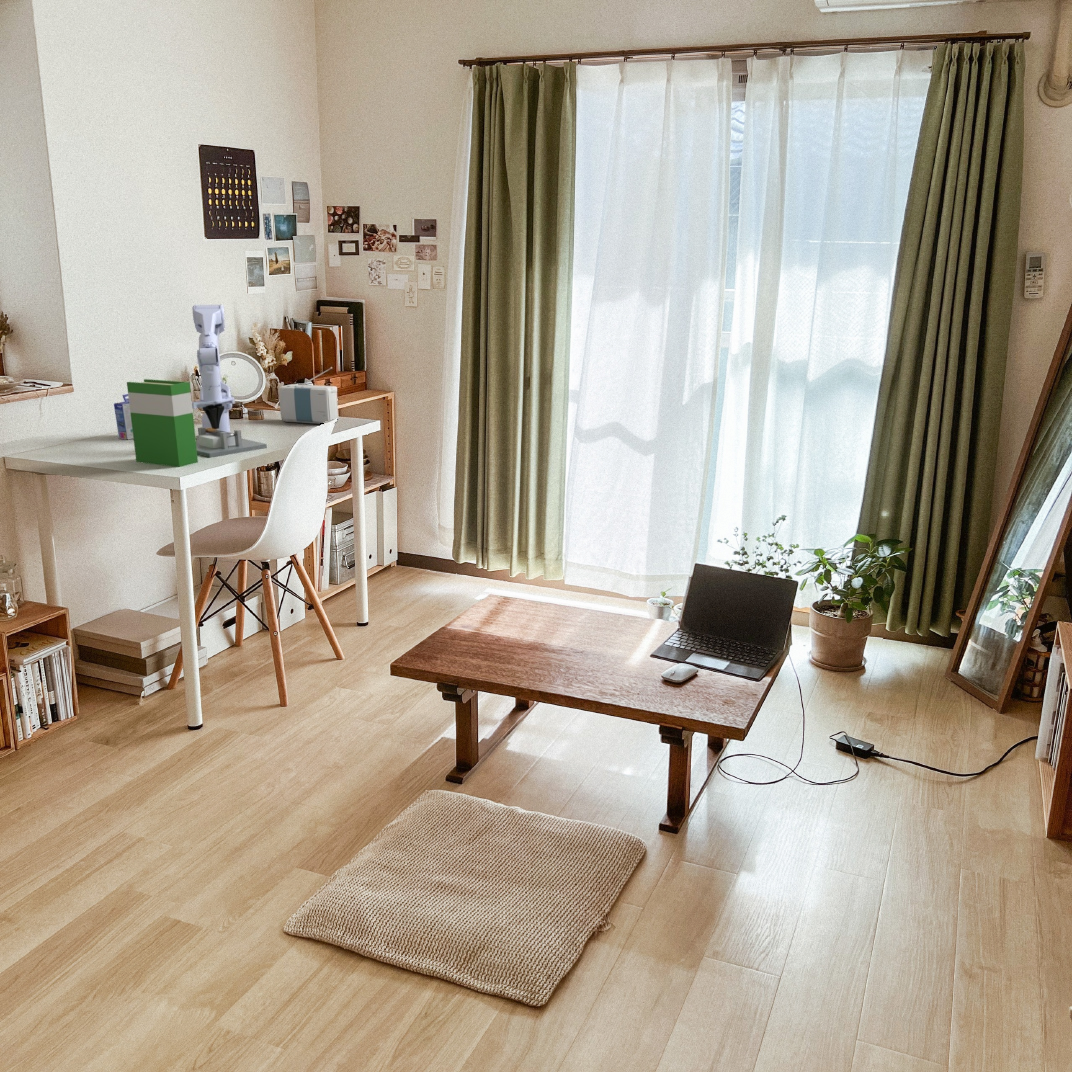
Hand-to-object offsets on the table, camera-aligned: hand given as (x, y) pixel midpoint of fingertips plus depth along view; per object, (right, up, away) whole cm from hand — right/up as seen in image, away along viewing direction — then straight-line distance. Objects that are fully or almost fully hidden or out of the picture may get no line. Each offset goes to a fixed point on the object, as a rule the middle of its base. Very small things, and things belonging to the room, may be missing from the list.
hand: (215, 428), depth 330 cm
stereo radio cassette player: (+21, +7, +45) cm, 50 cm away
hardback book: (-9, -12, -20) cm, 25 cm away
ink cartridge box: (-34, -1, +21) cm, 39 cm away
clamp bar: (+2, -2, -1) cm, 3 cm away
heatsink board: (+1, -6, 0) cm, 6 cm away
